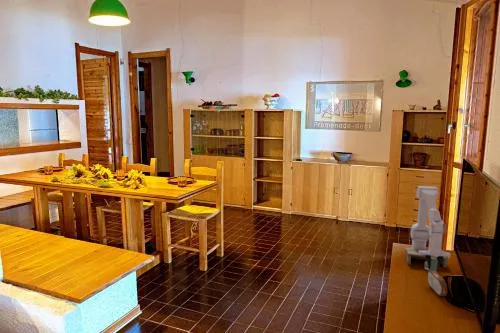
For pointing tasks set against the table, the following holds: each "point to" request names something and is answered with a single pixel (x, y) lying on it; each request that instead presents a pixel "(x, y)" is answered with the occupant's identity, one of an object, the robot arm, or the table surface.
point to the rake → (432, 264)
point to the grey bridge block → (420, 256)
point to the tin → (437, 283)
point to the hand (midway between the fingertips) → (432, 269)
